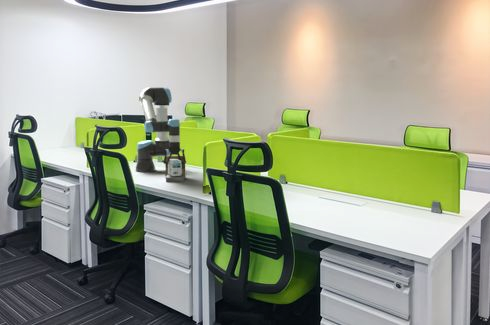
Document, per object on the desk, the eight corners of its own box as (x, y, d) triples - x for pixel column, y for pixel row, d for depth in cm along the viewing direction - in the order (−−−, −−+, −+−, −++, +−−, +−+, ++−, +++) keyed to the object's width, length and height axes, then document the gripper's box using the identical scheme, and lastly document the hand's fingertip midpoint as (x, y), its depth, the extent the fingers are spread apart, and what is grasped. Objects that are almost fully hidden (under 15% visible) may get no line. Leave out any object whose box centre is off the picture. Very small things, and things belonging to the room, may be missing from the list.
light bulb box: (181, 175, 305) (181, 160, 304) (172, 176, 302) (172, 161, 301) (177, 173, 315) (177, 158, 313) (168, 173, 312) (168, 158, 310)
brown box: (165, 177, 317) (165, 155, 314) (185, 177, 318) (185, 155, 316) (164, 181, 302) (164, 159, 300) (184, 181, 304) (184, 158, 301)
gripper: (158, 142, 300) (159, 174, 304) (189, 141, 302) (190, 174, 306) (159, 140, 307) (160, 172, 311) (189, 140, 310) (190, 172, 313)
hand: (175, 173), depth 309 cm, fingers open, 8 cm apart
